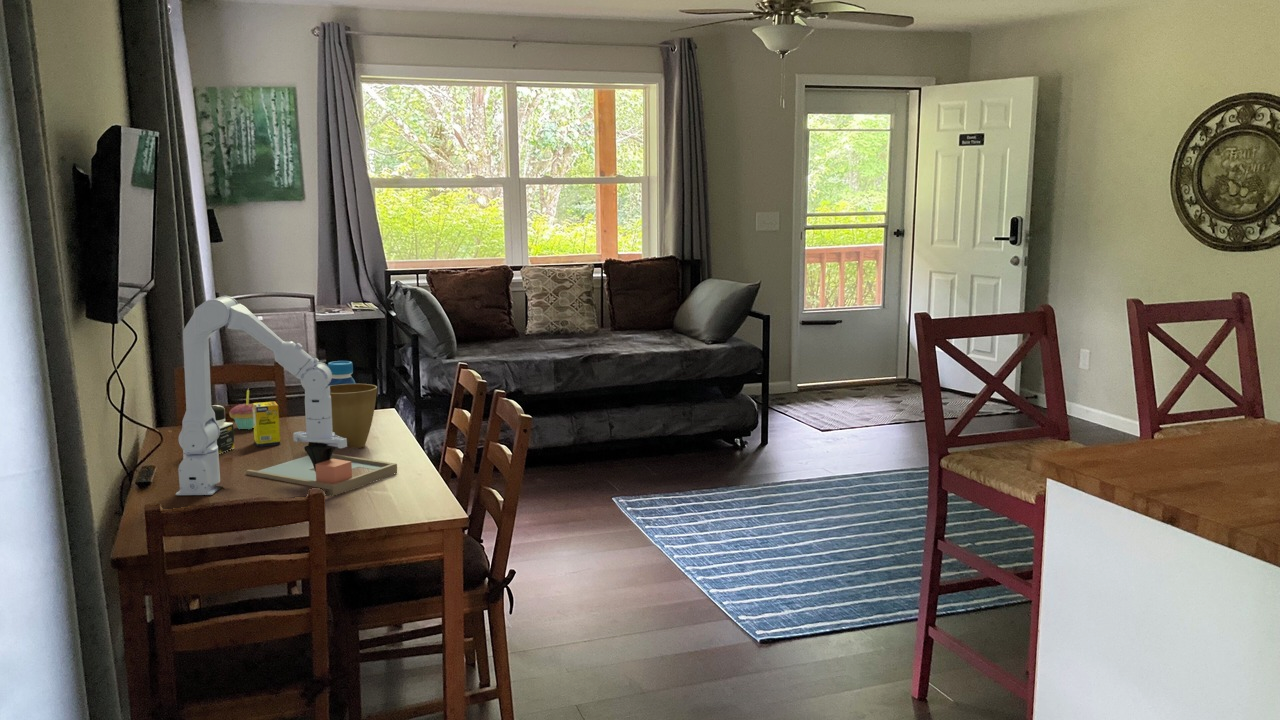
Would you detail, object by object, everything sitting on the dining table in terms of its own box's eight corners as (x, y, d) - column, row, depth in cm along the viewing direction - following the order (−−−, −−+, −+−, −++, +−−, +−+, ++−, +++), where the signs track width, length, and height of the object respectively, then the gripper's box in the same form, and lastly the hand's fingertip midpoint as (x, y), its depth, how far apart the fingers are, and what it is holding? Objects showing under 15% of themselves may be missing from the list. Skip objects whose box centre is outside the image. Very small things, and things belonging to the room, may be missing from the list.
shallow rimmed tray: (246, 480, 224) (246, 470, 224) (313, 459, 243) (313, 450, 242) (333, 496, 212) (333, 486, 212) (397, 473, 231) (396, 463, 231)
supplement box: (280, 444, 258) (278, 404, 256) (257, 447, 255) (254, 407, 253) (277, 440, 263) (275, 400, 261) (254, 442, 260) (251, 403, 258)
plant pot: (390, 444, 259) (388, 386, 256) (347, 456, 246) (344, 395, 244) (353, 437, 266) (350, 380, 264) (309, 448, 254) (306, 389, 251)
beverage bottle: (362, 428, 277) (359, 360, 274) (352, 435, 268) (349, 365, 265) (333, 428, 277) (330, 359, 274) (323, 435, 269) (319, 364, 266)
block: (316, 483, 217) (315, 464, 216) (334, 477, 222) (333, 458, 221) (334, 486, 214) (333, 467, 214) (352, 480, 219) (351, 461, 219)
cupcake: (268, 427, 278) (266, 386, 276) (242, 432, 271) (240, 391, 269) (249, 423, 282) (247, 383, 280) (223, 428, 275) (221, 387, 273)
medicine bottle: (218, 455, 246) (215, 409, 244) (193, 454, 248) (190, 408, 246) (235, 448, 253) (232, 404, 251) (211, 447, 254) (208, 403, 253)
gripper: (355, 416, 219) (357, 474, 221) (308, 410, 225) (311, 466, 227) (332, 422, 212) (335, 482, 214) (285, 416, 219) (288, 473, 221)
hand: (321, 474), depth 220 cm, fingers closed
